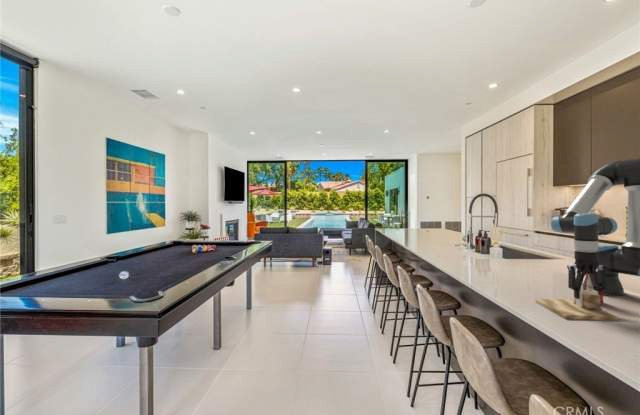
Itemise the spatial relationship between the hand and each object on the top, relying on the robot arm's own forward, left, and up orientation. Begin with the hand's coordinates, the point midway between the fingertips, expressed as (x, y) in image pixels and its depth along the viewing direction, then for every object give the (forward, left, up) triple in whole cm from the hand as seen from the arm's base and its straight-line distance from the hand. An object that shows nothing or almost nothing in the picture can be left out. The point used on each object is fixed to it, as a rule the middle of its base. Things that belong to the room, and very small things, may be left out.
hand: (587, 306), depth 125 cm
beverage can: (-10, -11, -2) cm, 15 cm away
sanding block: (0, 0, 0) cm, 0 cm away
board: (+6, 0, -2) cm, 6 cm away
